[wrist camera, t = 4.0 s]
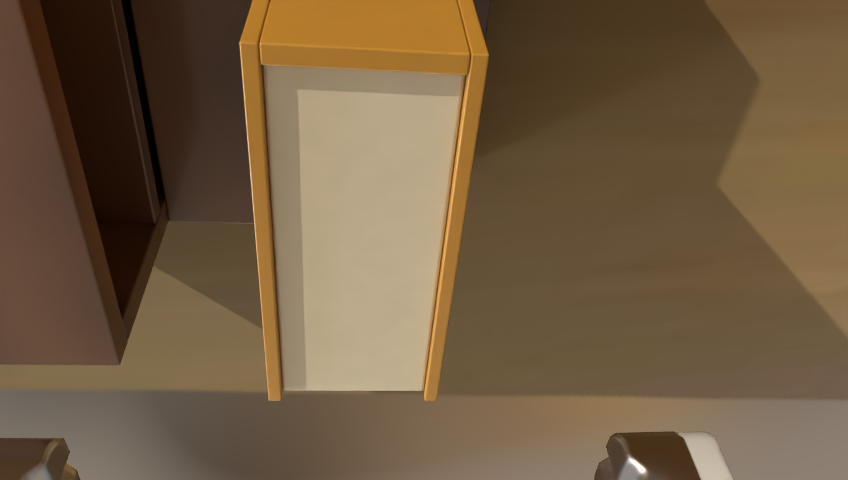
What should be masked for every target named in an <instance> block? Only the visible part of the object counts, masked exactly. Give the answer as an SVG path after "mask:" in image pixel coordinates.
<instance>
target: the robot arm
mask: <svg viewBox="0 0 848 480" xmlns="http://www.w3.org/2000/svg"><path fill="white" fill-rule="evenodd" d="M606 448H607V451H608V455H609V457H608V458H606V459H605V460H603V461H601V462H600V463H599V465H598V468H597V470H596V473H595V478H594V480H734V478H733V476H732V474H731V472H730V470H729V468H728V465H727V463H726V461H725V459H724V457H723V454H722V452H721V450H720V448H719V446H718V444H717V441H716V439H715V438H714V437H713V436H712V435H711V434H710V433H707V432H677V433H675V432H639V433H638V432H636V433H615V434H613V435H612V436H610V439H609V441H608V443H607V446H606ZM69 453H70V451H69V449H68V447H67V444H66V442H65V440H64V438H0V480H80V478H79V475H78V472H77V470H76V469H75V468H73V467H72V466H70V465H68V464H67V463H66V461H67V459H68V456H69Z"/></svg>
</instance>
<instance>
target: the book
mask: <svg viewBox="0 0 848 480" xmlns="http://www.w3.org/2000/svg"><path fill="white" fill-rule="evenodd" d="M239 45H240V57H241V69H242V82H243V94H244V106H245V118H246V130H247V142H248V154H249V166H250V178H251V190H252V203H253V215H254V227H255V239H256V251H257V263H258V275H259V287H260V299H261V311H262V324H263V336H264V348H265V360H266V372H267V384H268V396H269V400H270V401H272V400H273V401H280V400H281V399H282V391H283V389H284V390H363V391H421V390H423V389H424V399H425V401H436V400H437V395H438V389H439V382H440V376H441V369H442V363H443V356H444V349H445V343H446V336H447V330H448V323H449V317H450V310H451V304H452V297H453V290H454V284H455V277H456V271H457V264H458V258H459V251H460V245H461V238H462V231H463V225H464V218H465V212H466V205H467V199H468V192H469V186H470V179H471V172H472V166H473V159H474V153H475V146H476V140H477V133H478V127H479V120H480V113H481V107H482V100H483V94H484V87H485V81H486V74H487V68H488V61H489V53H488V50H487V47H486V43H485V40H484V36H483V33H482V30H481V26H480V23H479V20H478V16H477V13H476V9H475V6H474V3H473V0H253V1H252V4H251V7H250V10H249V14H248V17H247V20H246V23H245V26H244V30H243V33H242V36H241V39H240V42H239Z"/></svg>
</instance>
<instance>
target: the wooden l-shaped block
mask: <svg viewBox="0 0 848 480" xmlns="http://www.w3.org/2000/svg"><path fill="white" fill-rule="evenodd" d="M252 1H253V0H130V4H131V10H132V15H133V21H134V27H135V32H136V38H137V43H138V49H139V55H140V60H141V66H142V72H143V77H144V83H145V88H146V94H147V100H148V105H149V111H150V117H151V122H152V128H153V133H154V139H155V142H148V141H147V136H146V130H145V125H144V119H143V114H142V109H141V103H140V98H139V92H138V87H137V82H136V76H135V71H134V65H133V60H132V55H131V49H130V44H129V38H128V33H127V28H126V22H125V17H124V11H123V6H122V1H121V0H0V364H25V365H120V363H121V360H122V357H123V354H124V351H125V348H126V345H127V342H128V341H127V340H128V338H129V336H130V333H131V330H132V327H133V324H134V321H135V318H136V315H137V312H138V309H139V306H140V303H141V300H142V297H143V294H144V291H145V288H146V285H147V282H148V279H149V277H150V274H151V271H152V268H153V265H154V262H155V259H156V256H157V253H158V250H159V247H160V244H161V241H162V238H163V235H164V232H165V229H166V226H167V223H168V220H169V221H171V222H204V223H241V224H254V215H253V203H252V190H251V178H250V166H249V154H248V142H247V130H246V118H245V106H244V94H243V82H242V69H241V57H240V45H239V42H240V39H241V36H242V33H243V30H244V26H245V23H246V20H247V17H248V14H249V10H250V7H251V4H252ZM473 3H474V6H475V9H476V13H477V16H478V20H479V23H480V26H481V30H482V33H483V36H484V40H485V37H486V31H487V24H488V17H489V10H490V3H491V0H473Z"/></svg>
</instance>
